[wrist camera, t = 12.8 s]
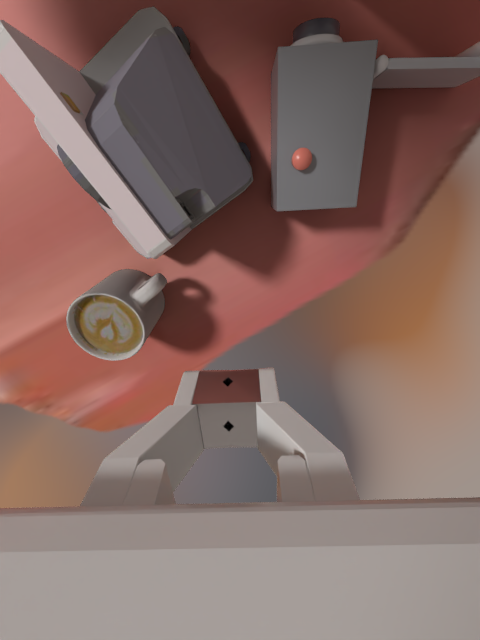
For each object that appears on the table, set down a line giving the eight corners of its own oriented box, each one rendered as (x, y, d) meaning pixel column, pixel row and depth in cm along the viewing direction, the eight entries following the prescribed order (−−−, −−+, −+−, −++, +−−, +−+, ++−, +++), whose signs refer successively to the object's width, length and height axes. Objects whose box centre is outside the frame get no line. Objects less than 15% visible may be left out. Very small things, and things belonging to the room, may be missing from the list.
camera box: (270, 50, 30) (279, 11, 23) (354, 44, 30) (388, 2, 23) (271, 206, 37) (277, 212, 30) (338, 202, 37) (360, 207, 30)
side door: (351, 91, 31) (405, 45, 21) (355, 59, 30) (416, -7, 20) (453, 89, 31) (560, 42, 21) (462, 57, 30) (580, -10, 20)
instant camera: (41, 102, 33) (-100, 46, 19) (192, -1, 29) (147, -163, 15) (140, 261, 41) (91, 299, 28) (267, 199, 37) (281, 209, 24)
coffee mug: (127, 334, 47) (100, 370, 38) (89, 285, 43) (48, 312, 34) (194, 303, 44) (182, 334, 35) (160, 247, 40) (136, 266, 31)
